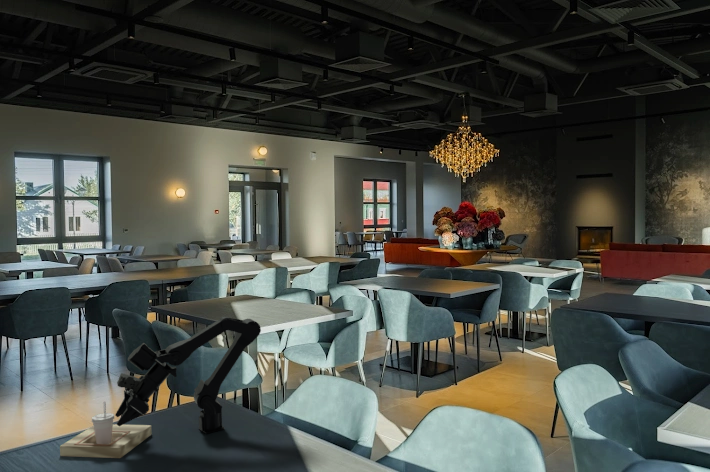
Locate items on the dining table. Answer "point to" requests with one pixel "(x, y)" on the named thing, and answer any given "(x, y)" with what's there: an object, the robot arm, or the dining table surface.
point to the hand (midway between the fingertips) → (117, 420)
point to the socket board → (117, 448)
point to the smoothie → (103, 427)
